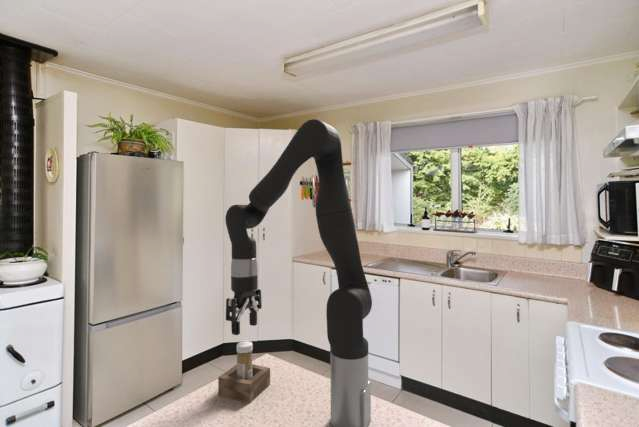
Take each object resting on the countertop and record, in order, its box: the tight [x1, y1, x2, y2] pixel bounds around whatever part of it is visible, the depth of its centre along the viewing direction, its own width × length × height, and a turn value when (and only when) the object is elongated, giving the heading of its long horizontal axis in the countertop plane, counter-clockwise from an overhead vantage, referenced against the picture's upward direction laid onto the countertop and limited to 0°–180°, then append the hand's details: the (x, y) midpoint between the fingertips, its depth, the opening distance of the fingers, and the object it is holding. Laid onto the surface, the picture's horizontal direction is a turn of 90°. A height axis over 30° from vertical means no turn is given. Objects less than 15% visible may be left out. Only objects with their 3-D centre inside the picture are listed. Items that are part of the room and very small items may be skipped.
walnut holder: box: [217, 363, 271, 404], centre depth 97 cm, size 10×10×5 cm
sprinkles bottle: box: [236, 340, 254, 380], centre depth 97 cm, size 5×5×14 cm
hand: (245, 329), depth 97 cm, fingers open, 8 cm apart
